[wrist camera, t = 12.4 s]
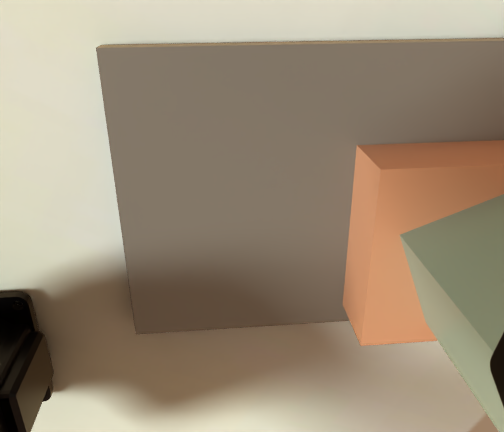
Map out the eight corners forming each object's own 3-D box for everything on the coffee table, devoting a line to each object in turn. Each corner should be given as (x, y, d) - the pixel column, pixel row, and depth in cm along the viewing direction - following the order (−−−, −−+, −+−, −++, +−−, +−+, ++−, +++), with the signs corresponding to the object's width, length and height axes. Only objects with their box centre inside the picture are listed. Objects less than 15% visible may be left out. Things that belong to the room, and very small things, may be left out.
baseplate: (138, 321, 24) (126, 380, 20) (101, 44, 18) (76, 58, 15) (521, 297, 25) (573, 348, 22) (594, 36, 20) (681, 46, 16)
